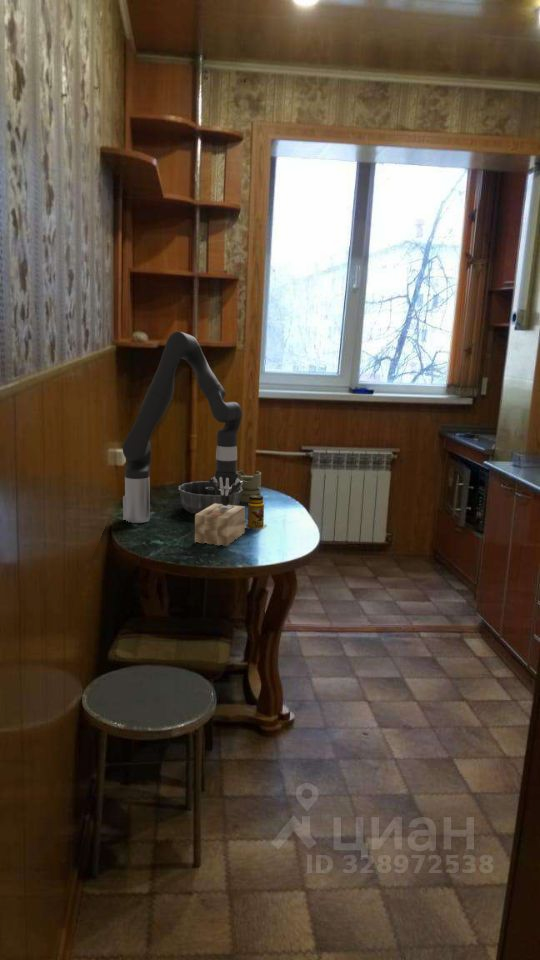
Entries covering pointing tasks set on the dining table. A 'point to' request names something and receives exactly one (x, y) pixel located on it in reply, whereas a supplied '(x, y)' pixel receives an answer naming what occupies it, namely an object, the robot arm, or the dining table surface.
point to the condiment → (255, 512)
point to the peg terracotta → (215, 513)
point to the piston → (249, 485)
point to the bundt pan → (203, 496)
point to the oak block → (219, 525)
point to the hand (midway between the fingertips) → (225, 505)
